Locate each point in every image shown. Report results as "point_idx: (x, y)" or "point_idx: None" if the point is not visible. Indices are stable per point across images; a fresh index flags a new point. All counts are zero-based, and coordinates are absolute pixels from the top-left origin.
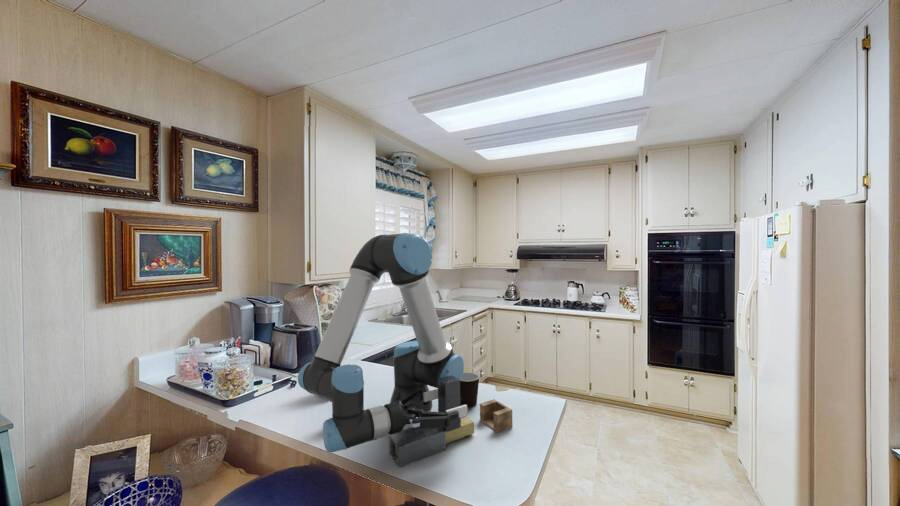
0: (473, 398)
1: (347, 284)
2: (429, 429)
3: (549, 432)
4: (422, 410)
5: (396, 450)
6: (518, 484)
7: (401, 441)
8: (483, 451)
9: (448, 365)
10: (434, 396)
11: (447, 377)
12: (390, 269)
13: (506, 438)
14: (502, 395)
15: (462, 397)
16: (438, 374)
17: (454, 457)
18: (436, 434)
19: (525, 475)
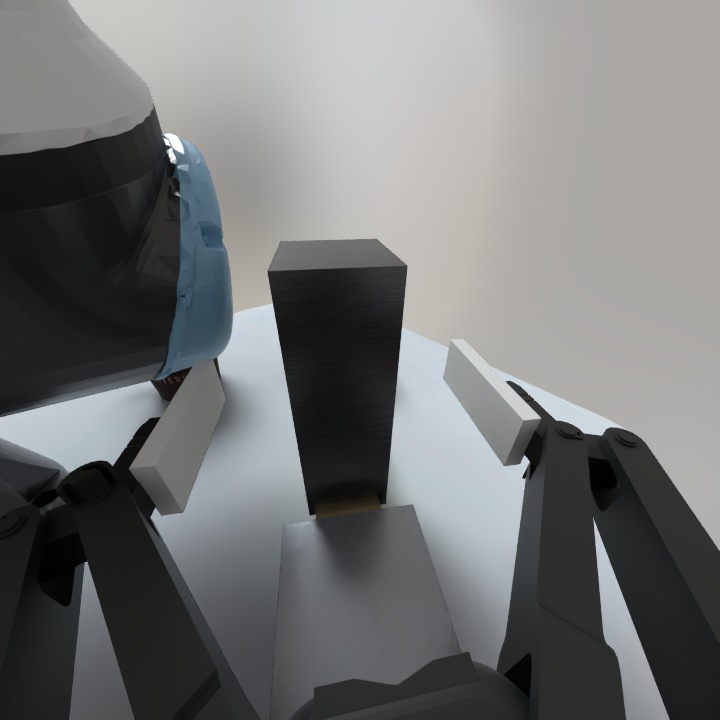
0: (215, 358)
1: None
2: (369, 590)
3: (405, 329)
4: (578, 631)
5: None
6: (589, 428)
7: None
8: (441, 439)
9: (206, 188)
10: (205, 425)
11: (297, 250)
12: None
13: (399, 380)
14: (233, 328)
15: (184, 373)
16: (152, 278)
17: (459, 535)
18: (430, 564)
19: (549, 405)
